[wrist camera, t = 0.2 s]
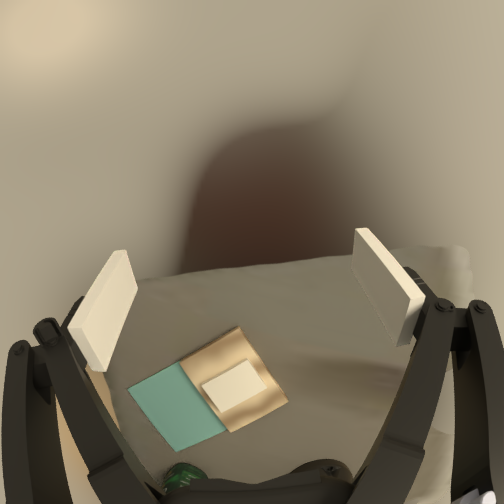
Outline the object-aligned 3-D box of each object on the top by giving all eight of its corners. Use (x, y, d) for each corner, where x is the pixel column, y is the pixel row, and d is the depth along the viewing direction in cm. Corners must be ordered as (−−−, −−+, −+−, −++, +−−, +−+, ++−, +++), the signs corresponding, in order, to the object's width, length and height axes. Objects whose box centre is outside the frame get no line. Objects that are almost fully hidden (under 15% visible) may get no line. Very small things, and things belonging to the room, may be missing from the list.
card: (266, 384, 47) (267, 388, 45) (222, 409, 46) (221, 412, 45) (247, 357, 47) (247, 359, 46) (202, 382, 47) (201, 385, 45)
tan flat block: (286, 396, 49) (288, 401, 47) (230, 426, 48) (230, 432, 46) (239, 325, 50) (238, 328, 48) (181, 359, 49) (179, 363, 47)
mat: (229, 427, 48) (229, 428, 48) (176, 451, 47) (175, 452, 47) (180, 360, 49) (180, 360, 49) (128, 388, 48) (127, 389, 48)
